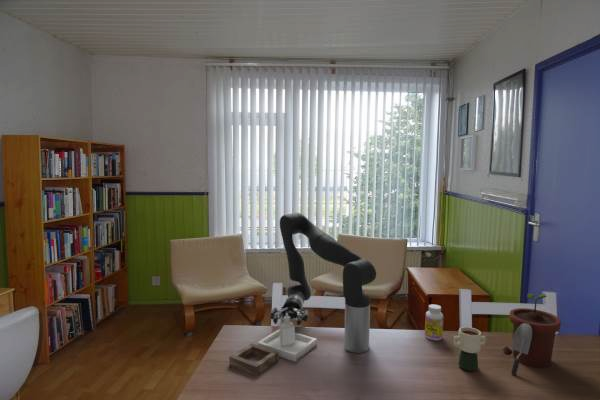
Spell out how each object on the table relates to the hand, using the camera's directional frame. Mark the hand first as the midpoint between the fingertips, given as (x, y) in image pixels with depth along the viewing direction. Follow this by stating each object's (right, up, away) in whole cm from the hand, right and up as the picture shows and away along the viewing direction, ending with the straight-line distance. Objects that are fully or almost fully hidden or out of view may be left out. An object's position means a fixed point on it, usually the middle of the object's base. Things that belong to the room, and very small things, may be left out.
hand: (286, 322), depth 148 cm
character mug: (+63, -12, -11) cm, 65 cm away
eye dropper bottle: (0, -9, +3) cm, 10 cm away
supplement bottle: (+58, -10, +12) cm, 60 cm away
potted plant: (+85, -12, -6) cm, 86 cm away
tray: (0, -10, +3) cm, 11 cm away
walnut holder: (-11, -11, -9) cm, 18 cm away
